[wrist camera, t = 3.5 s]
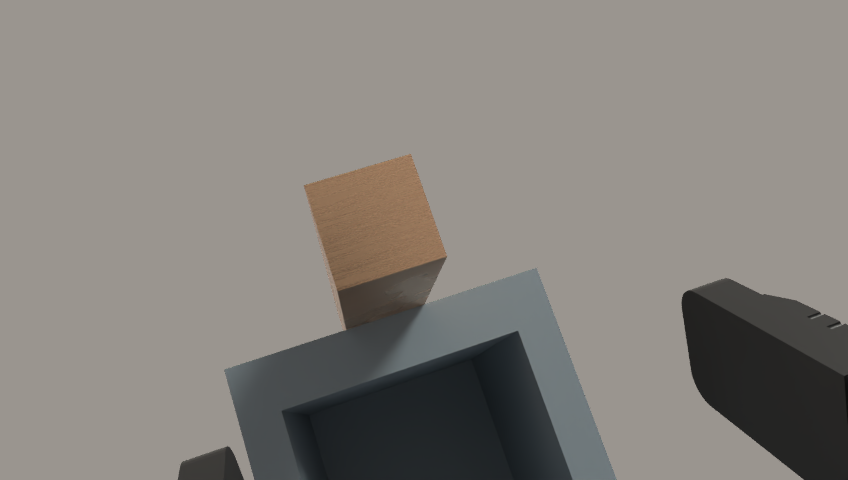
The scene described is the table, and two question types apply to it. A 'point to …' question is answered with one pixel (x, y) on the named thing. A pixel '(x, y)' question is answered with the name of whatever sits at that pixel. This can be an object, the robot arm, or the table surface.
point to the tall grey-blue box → (426, 397)
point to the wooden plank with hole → (376, 240)
